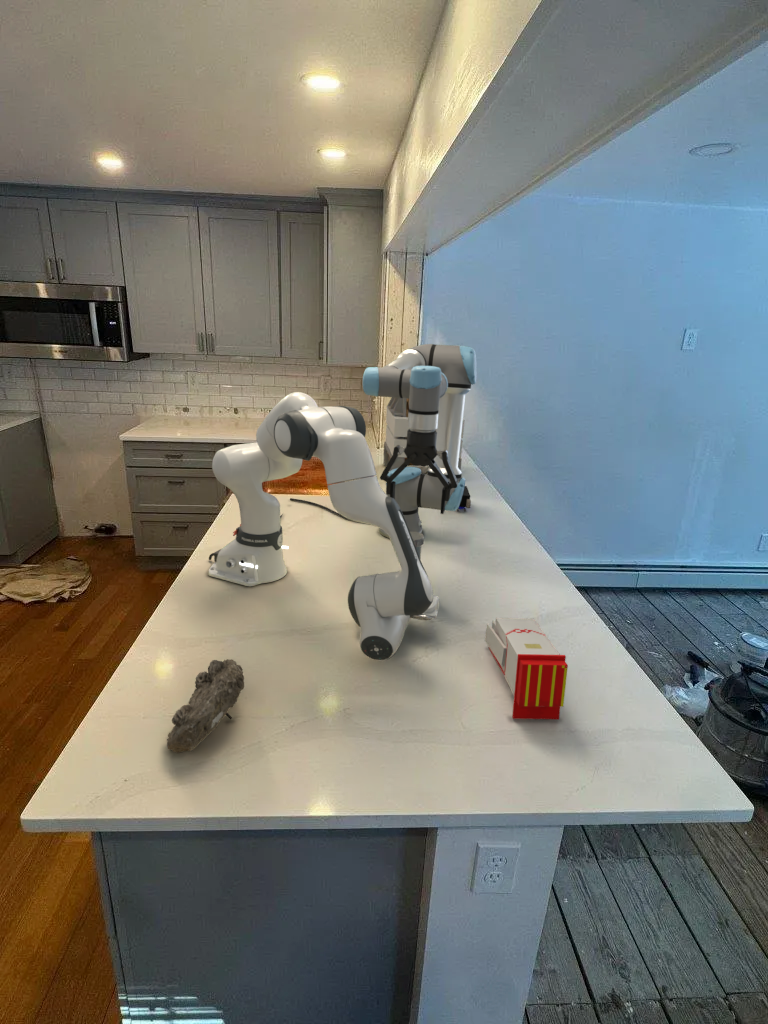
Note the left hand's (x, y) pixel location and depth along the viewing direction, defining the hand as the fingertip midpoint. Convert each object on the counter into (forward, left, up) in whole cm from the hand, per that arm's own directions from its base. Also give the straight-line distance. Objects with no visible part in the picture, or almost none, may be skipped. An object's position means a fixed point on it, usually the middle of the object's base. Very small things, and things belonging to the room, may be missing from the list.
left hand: (403, 587), depth 148 cm
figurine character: (+6, +88, -7) cm, 88 cm away
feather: (-56, +53, -7) cm, 78 cm away
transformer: (-18, +132, -7) cm, 133 cm away
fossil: (-27, -51, -7) cm, 58 cm away
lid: (0, +9, +11) cm, 14 cm away
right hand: (+1, +9, +19) cm, 21 cm away
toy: (+30, -22, -7) cm, 38 cm away
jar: (0, +9, -7) cm, 11 cm away
